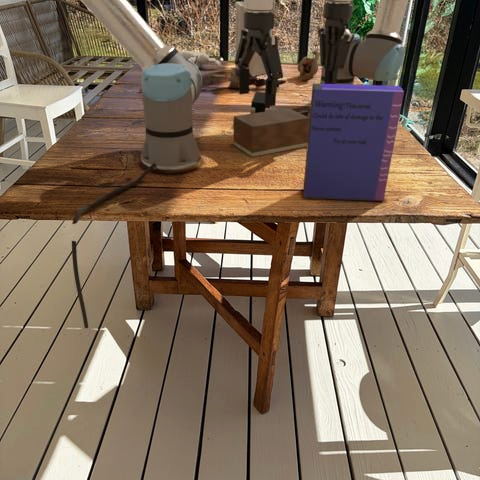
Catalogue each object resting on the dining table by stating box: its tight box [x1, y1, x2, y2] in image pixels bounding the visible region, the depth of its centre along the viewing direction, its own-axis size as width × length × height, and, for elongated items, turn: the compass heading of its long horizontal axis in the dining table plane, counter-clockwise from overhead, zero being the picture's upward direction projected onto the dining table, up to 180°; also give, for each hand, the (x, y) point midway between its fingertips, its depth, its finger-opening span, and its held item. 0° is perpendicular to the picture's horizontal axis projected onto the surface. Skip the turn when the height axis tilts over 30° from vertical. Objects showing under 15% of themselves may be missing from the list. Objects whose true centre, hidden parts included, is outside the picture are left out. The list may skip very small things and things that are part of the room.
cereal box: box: [302, 83, 405, 202], centre depth 102 cm, size 17×5×24 cm, turn 86°
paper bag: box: [234, 1, 274, 77], centre depth 210 cm, size 19×15×28 cm
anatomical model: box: [297, 50, 320, 82], centre depth 207 cm, size 13×9×15 cm
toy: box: [178, 50, 222, 69], centre depth 224 cm, size 24×25×7 cm
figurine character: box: [249, 91, 272, 114], centre depth 154 cm, size 7×8×15 cm
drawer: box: [297, 108, 311, 118], centre depth 138 cm, size 23×9×6 cm, turn 119°
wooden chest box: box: [232, 107, 310, 157], centre depth 133 cm, size 18×11×8 cm, turn 119°
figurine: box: [209, 66, 287, 89], centre depth 190 cm, size 24×8×30 cm
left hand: (256, 99), depth 126 cm, fingers open, 13 cm apart
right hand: (328, 93), depth 137 cm, fingers closed
